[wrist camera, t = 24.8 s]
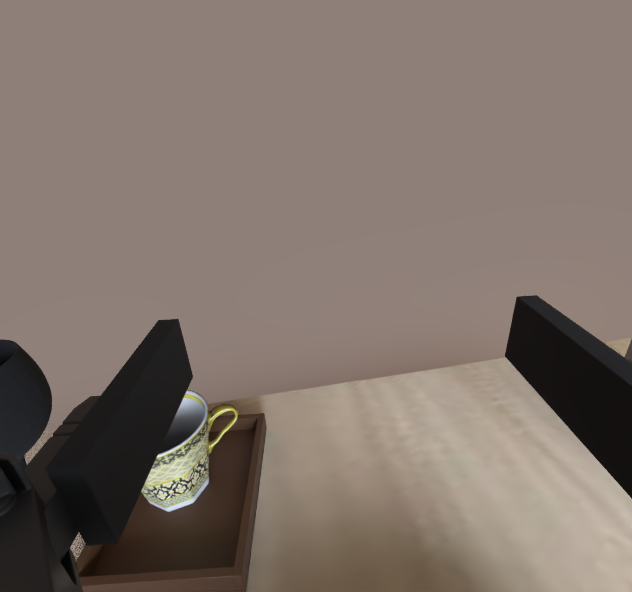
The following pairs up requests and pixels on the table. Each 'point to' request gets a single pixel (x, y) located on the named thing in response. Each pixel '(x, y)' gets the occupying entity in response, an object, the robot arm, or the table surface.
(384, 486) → the table surface
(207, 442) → the ceramic cup
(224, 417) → the tray
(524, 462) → the table surface
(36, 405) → the wine glass
